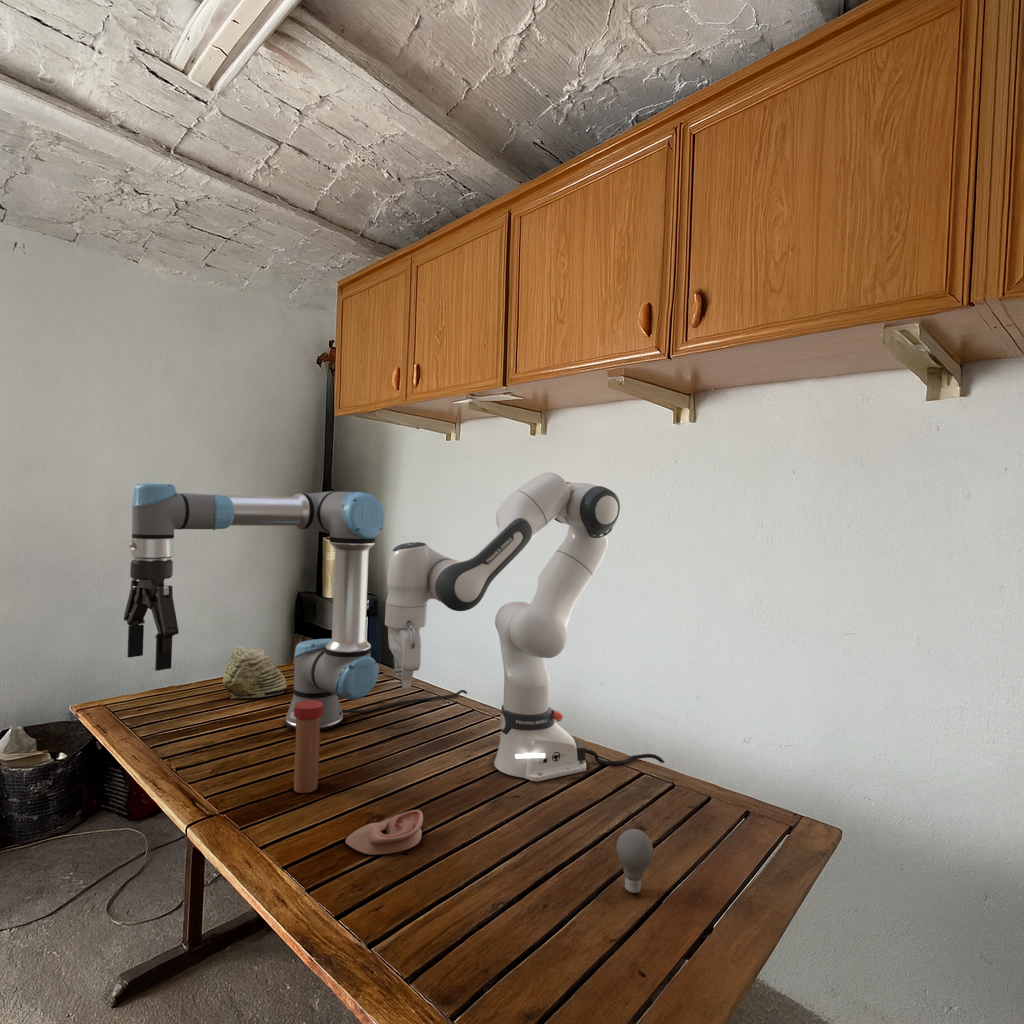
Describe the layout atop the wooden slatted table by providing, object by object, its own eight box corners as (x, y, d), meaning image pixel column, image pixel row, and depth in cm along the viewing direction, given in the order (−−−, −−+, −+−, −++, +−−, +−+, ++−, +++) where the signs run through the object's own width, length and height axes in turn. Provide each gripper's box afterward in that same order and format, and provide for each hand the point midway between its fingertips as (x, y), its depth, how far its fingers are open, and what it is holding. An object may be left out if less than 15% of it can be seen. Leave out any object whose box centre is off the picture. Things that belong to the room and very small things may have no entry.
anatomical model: (338, 827, 114) (365, 799, 125) (337, 849, 114) (364, 818, 125) (408, 839, 111) (429, 808, 122) (407, 861, 111) (428, 828, 122)
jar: (313, 793, 135) (316, 710, 135) (290, 792, 135) (293, 709, 135) (321, 783, 140) (324, 703, 140) (298, 782, 140) (301, 702, 140)
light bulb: (610, 879, 108) (613, 822, 108) (644, 879, 109) (647, 822, 109) (619, 902, 102) (622, 840, 102) (655, 901, 103) (658, 840, 103)
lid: (317, 720, 134) (318, 709, 134) (289, 719, 134) (290, 708, 134) (326, 711, 140) (326, 700, 140) (299, 710, 140) (300, 699, 140)
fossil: (218, 695, 195) (220, 647, 195) (278, 685, 208) (279, 640, 207) (228, 703, 189) (230, 653, 188) (289, 692, 201) (290, 645, 201)
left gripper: (108, 554, 134) (104, 654, 134) (159, 565, 118) (155, 678, 119) (146, 552, 140) (143, 648, 140) (199, 563, 124) (195, 671, 124)
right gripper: (430, 626, 128) (426, 694, 128) (412, 609, 147) (408, 668, 148) (398, 627, 126) (395, 696, 126) (384, 609, 145) (381, 669, 146)
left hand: (148, 662), depth 129 cm, fingers open, 13 cm apart
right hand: (402, 680), depth 137 cm, fingers open, 8 cm apart
